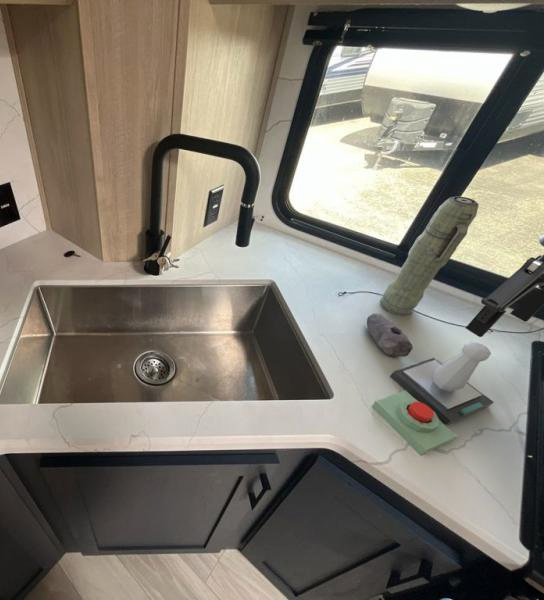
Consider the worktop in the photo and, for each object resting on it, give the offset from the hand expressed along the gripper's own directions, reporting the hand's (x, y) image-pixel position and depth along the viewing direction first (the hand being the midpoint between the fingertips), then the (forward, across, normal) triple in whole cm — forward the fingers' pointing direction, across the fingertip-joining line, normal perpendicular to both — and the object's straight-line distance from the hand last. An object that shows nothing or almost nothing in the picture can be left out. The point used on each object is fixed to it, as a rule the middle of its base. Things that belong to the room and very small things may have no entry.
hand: (496, 324), depth 65 cm
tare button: (+18, +15, +5) cm, 24 cm away
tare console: (+22, +15, +5) cm, 26 cm away
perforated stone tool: (+22, 0, -16) cm, 27 cm away
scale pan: (+19, +1, 0) cm, 19 cm away
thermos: (+21, -18, -26) cm, 39 cm away
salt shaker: (+19, +1, +1) cm, 19 cm away
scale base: (+21, +1, +1) cm, 21 cm away
